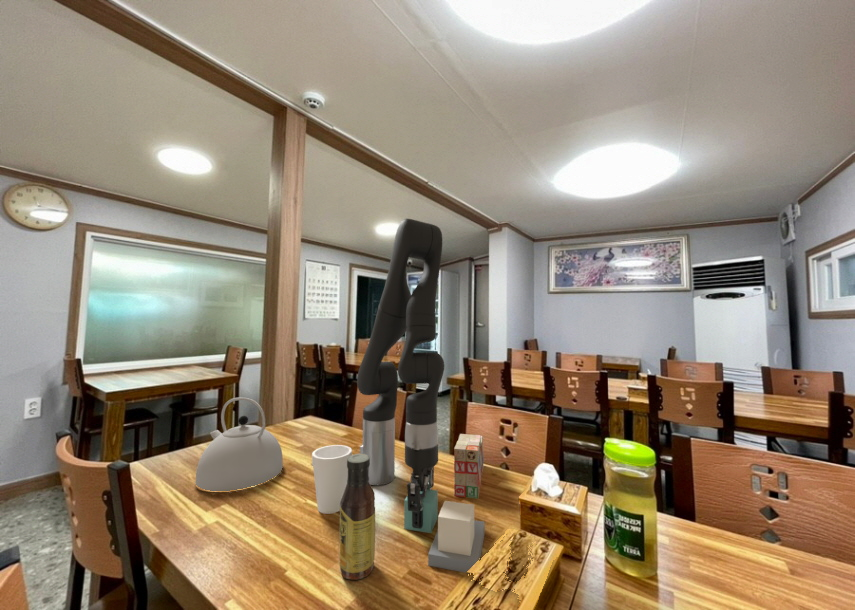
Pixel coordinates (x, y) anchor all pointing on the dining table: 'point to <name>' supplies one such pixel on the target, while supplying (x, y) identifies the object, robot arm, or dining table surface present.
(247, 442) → the kettle
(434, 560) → the board
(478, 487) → the stack of blocks
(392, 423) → the robot arm
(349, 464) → the sauce bottle
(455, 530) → the cream cube
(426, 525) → the teal cube
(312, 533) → the dining table surface
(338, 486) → the foam cup
